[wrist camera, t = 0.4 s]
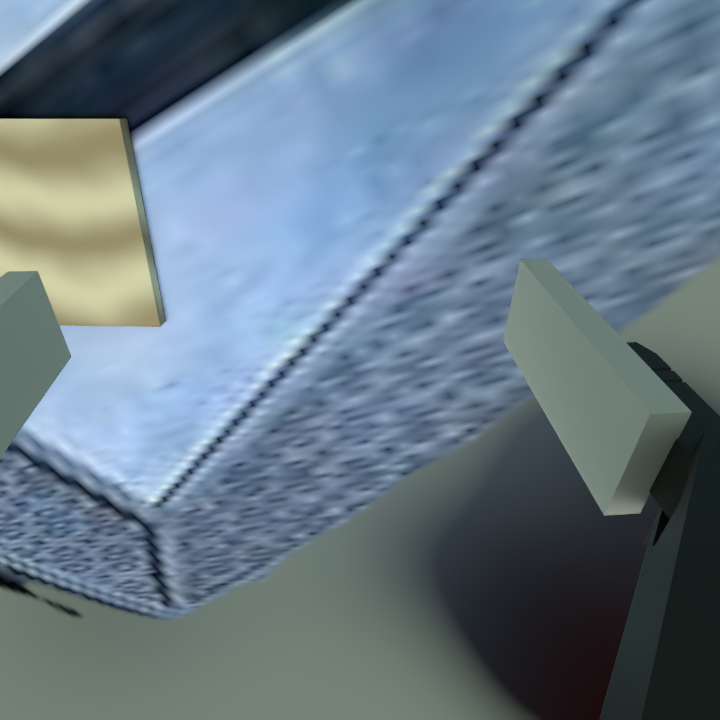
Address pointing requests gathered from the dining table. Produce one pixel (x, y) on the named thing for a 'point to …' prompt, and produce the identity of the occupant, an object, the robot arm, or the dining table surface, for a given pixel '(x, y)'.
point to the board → (78, 220)
